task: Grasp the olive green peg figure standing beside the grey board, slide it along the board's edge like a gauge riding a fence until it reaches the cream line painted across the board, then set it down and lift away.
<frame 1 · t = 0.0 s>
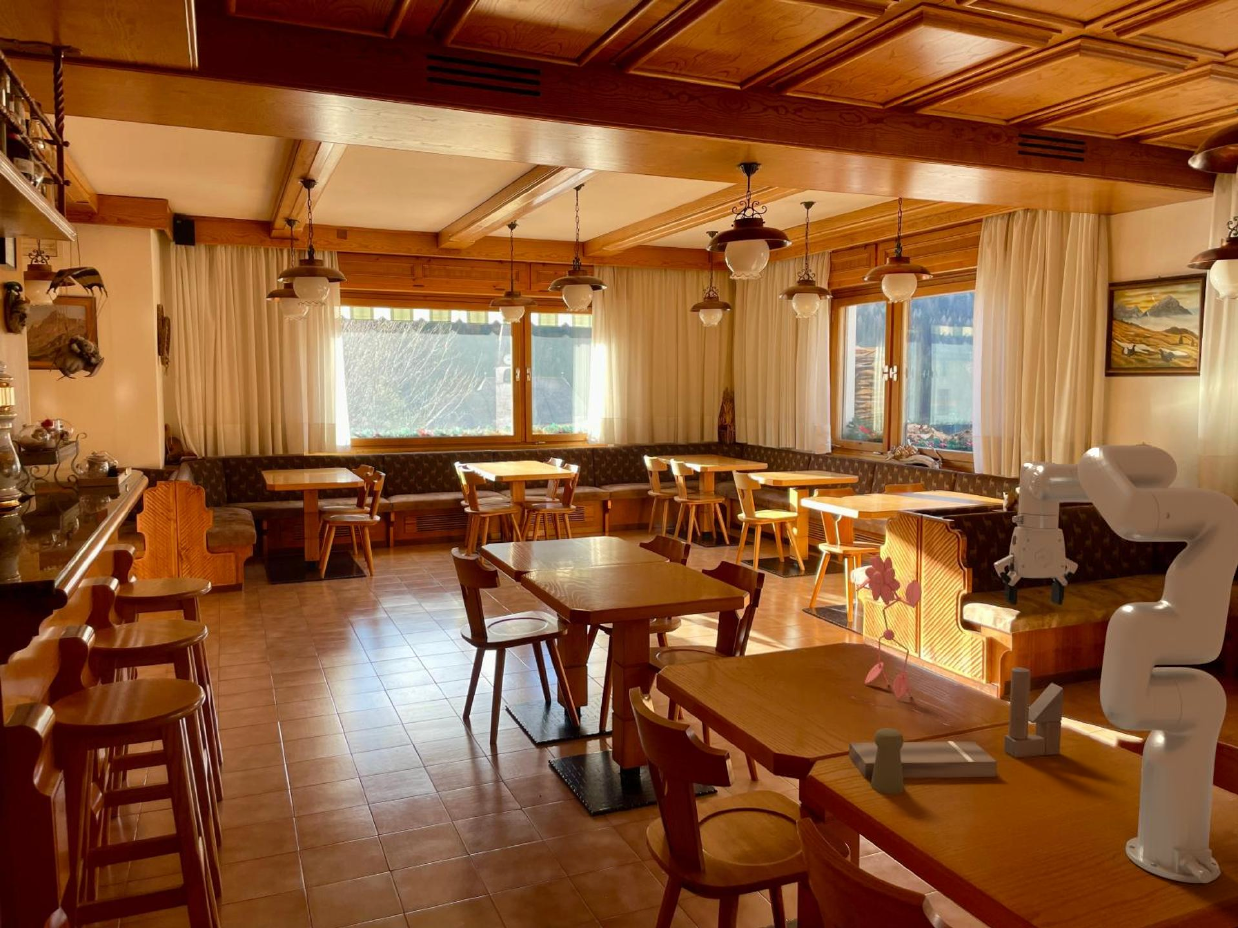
hand: (1034, 603, 183), 31 cm above the table, tool pointing down, fingers open, 9 cm apart
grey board: (920, 766, 176), on the table
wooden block: (1031, 753, 183), on the table
pink wire flower: (876, 693, 219), on the table
olive green peg figure: (887, 787, 167), on the table
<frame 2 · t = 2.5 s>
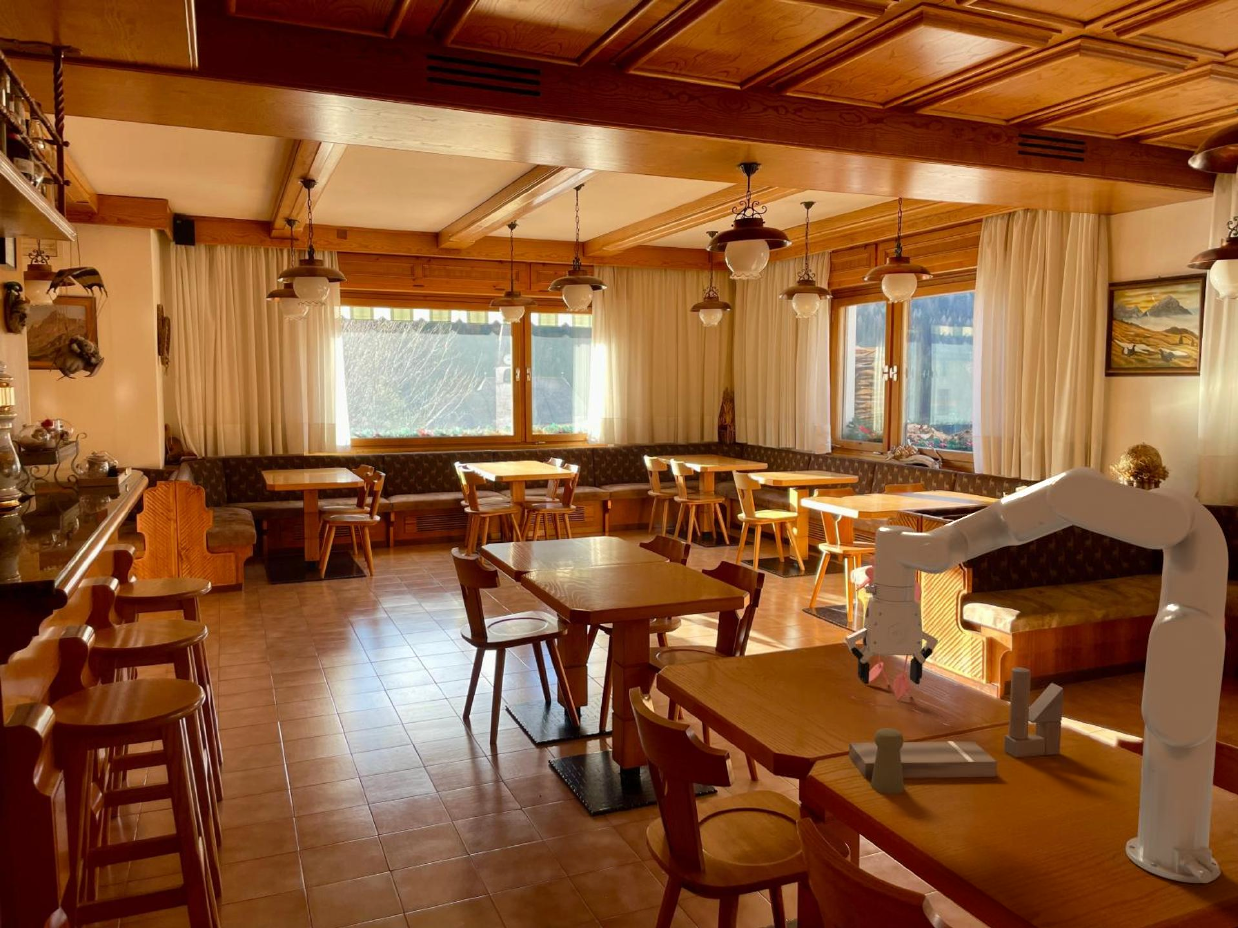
hand: (889, 681, 165), 20 cm above the table, tool pointing down, fingers open, 9 cm apart
nothing on the table moved.
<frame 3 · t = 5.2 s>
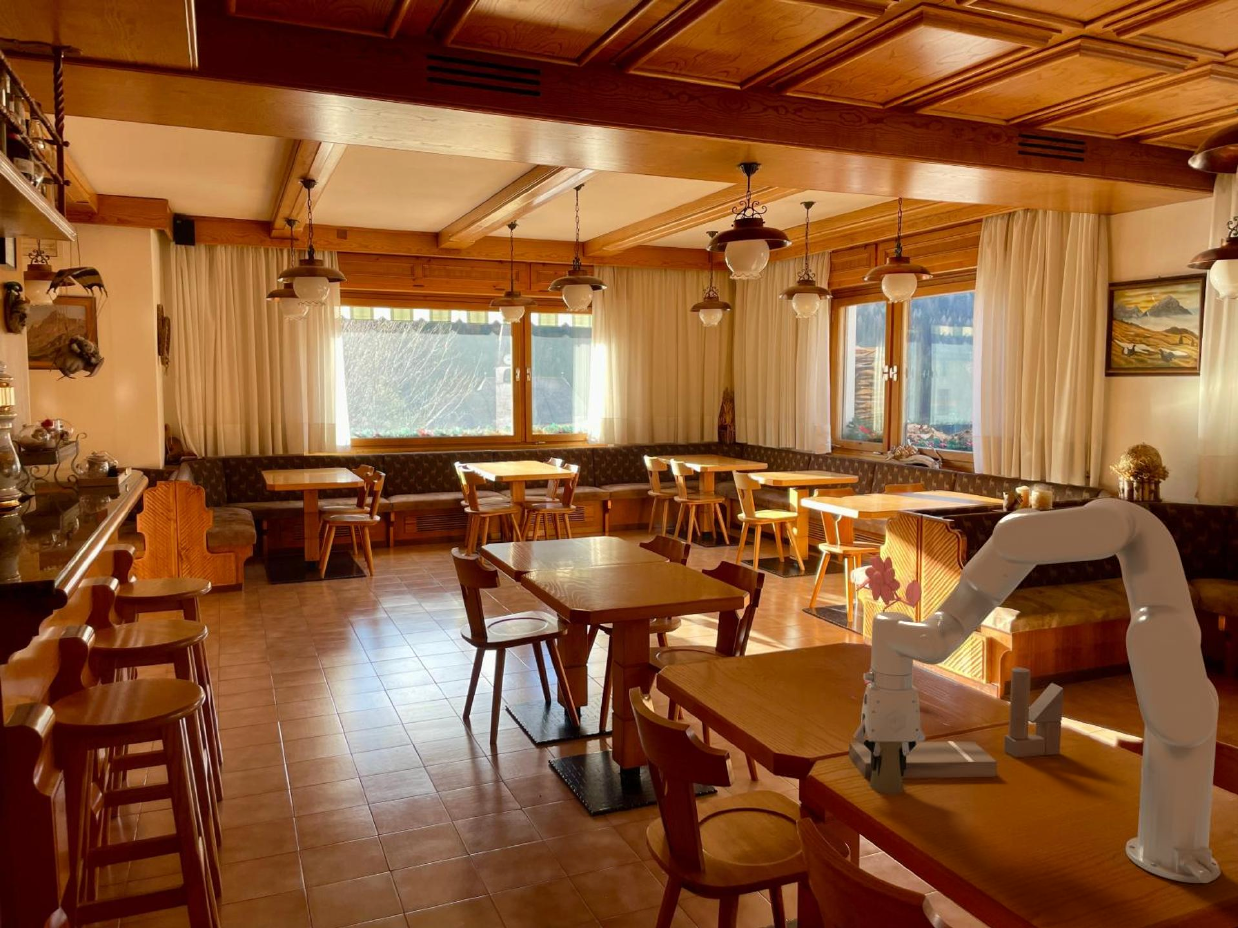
hand: (888, 772, 167), 3 cm above the table, tool pointing down, fingers closed on olive green peg figure, 3 cm apart
olive green peg figure: (886, 787, 167), on the table, touching gripper
everything else where it was.
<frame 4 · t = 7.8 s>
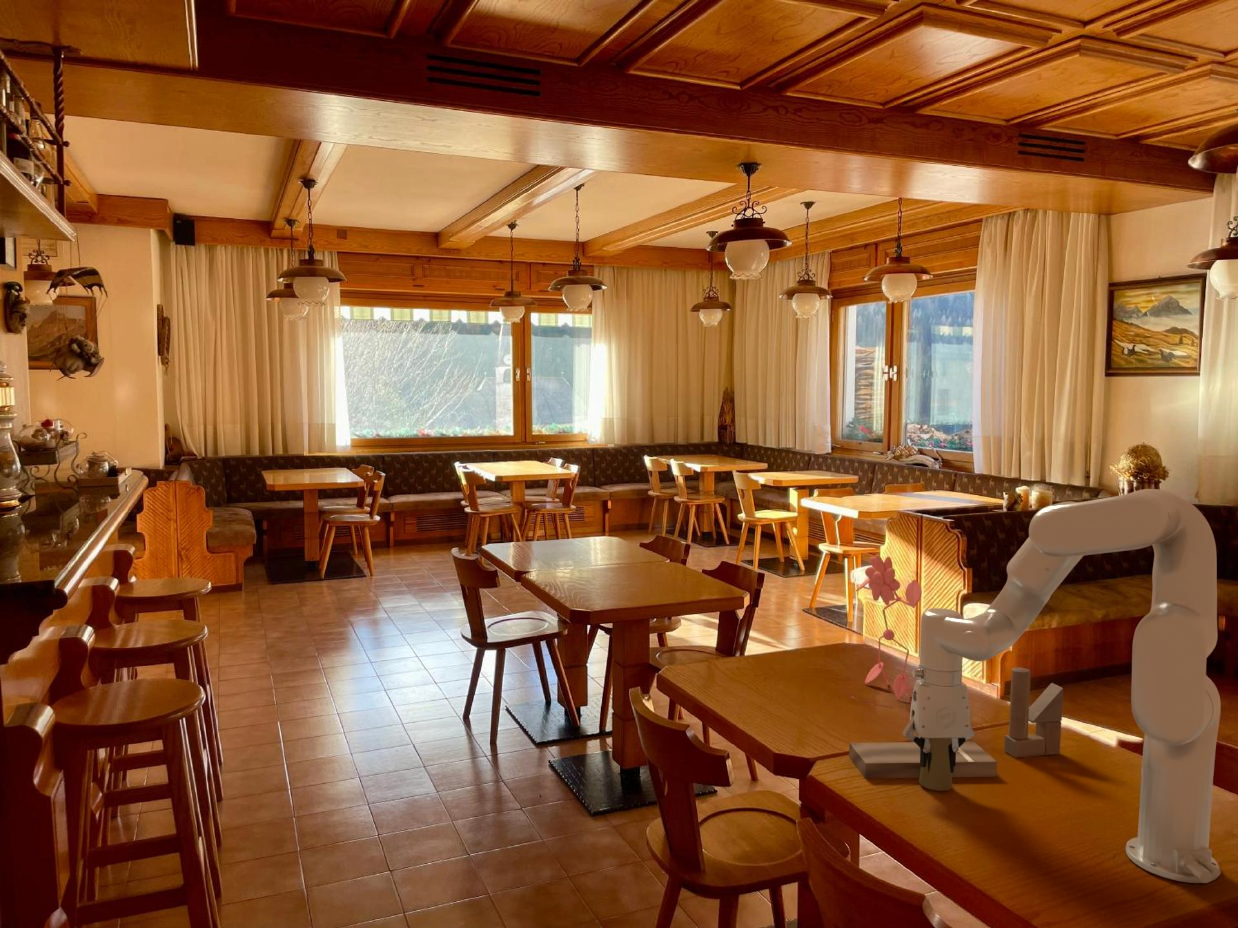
hand: (937, 769, 167), 3 cm above the table, tool pointing down, fingers closed on olive green peg figure, 3 cm apart
olive green peg figure: (935, 784, 167), on the table, touching gripper
everything else where it was.
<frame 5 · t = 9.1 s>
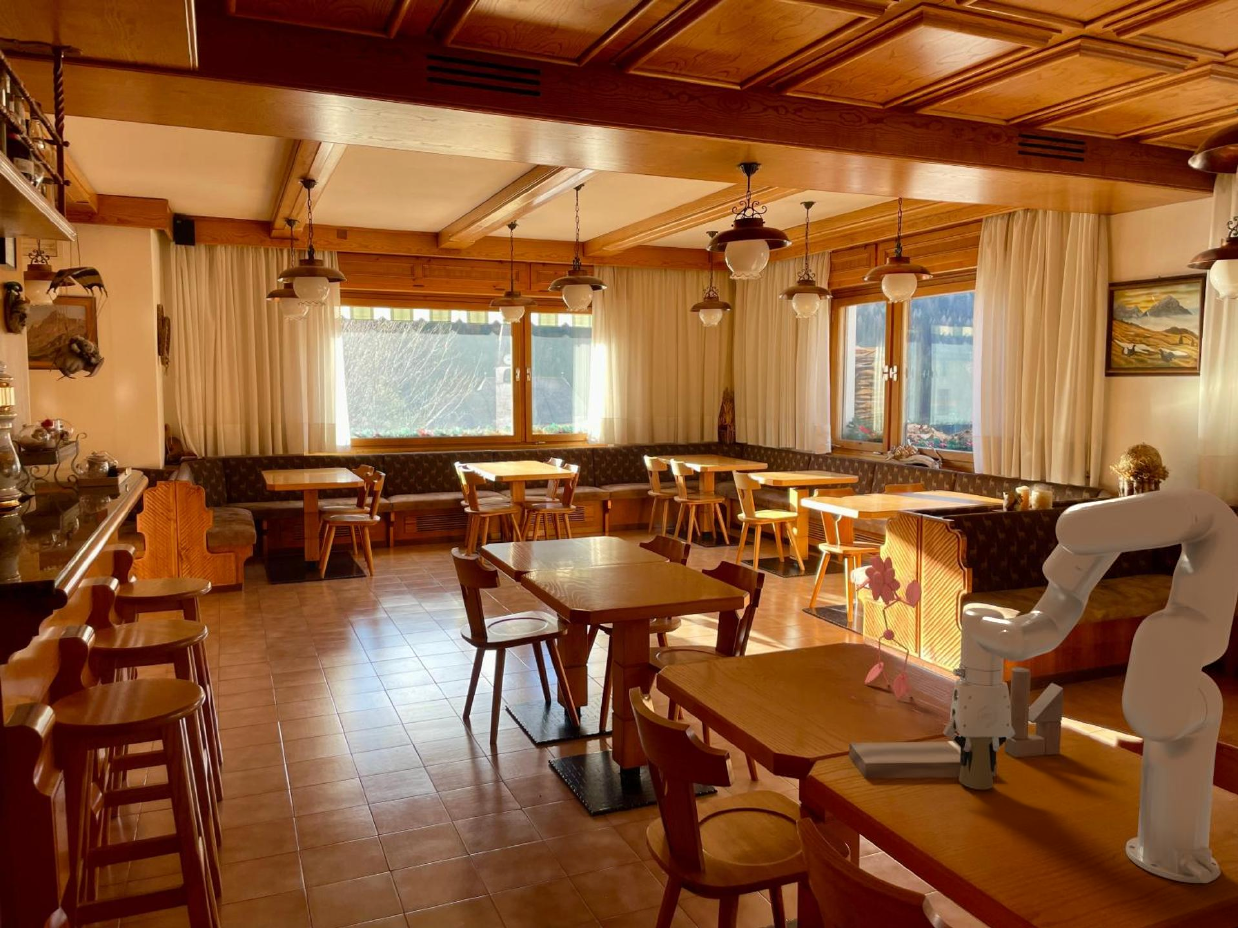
hand: (977, 768, 167), 4 cm above the table, tool pointing down, fingers closed on olive green peg figure, 3 cm apart
olive green peg figure: (975, 783, 167), point 1 cm above the table, touching gripper
everything else where it was.
when the fingers open (3 cm above the table, at t = 10.4 s): olive green peg figure stays where it is, on the table.
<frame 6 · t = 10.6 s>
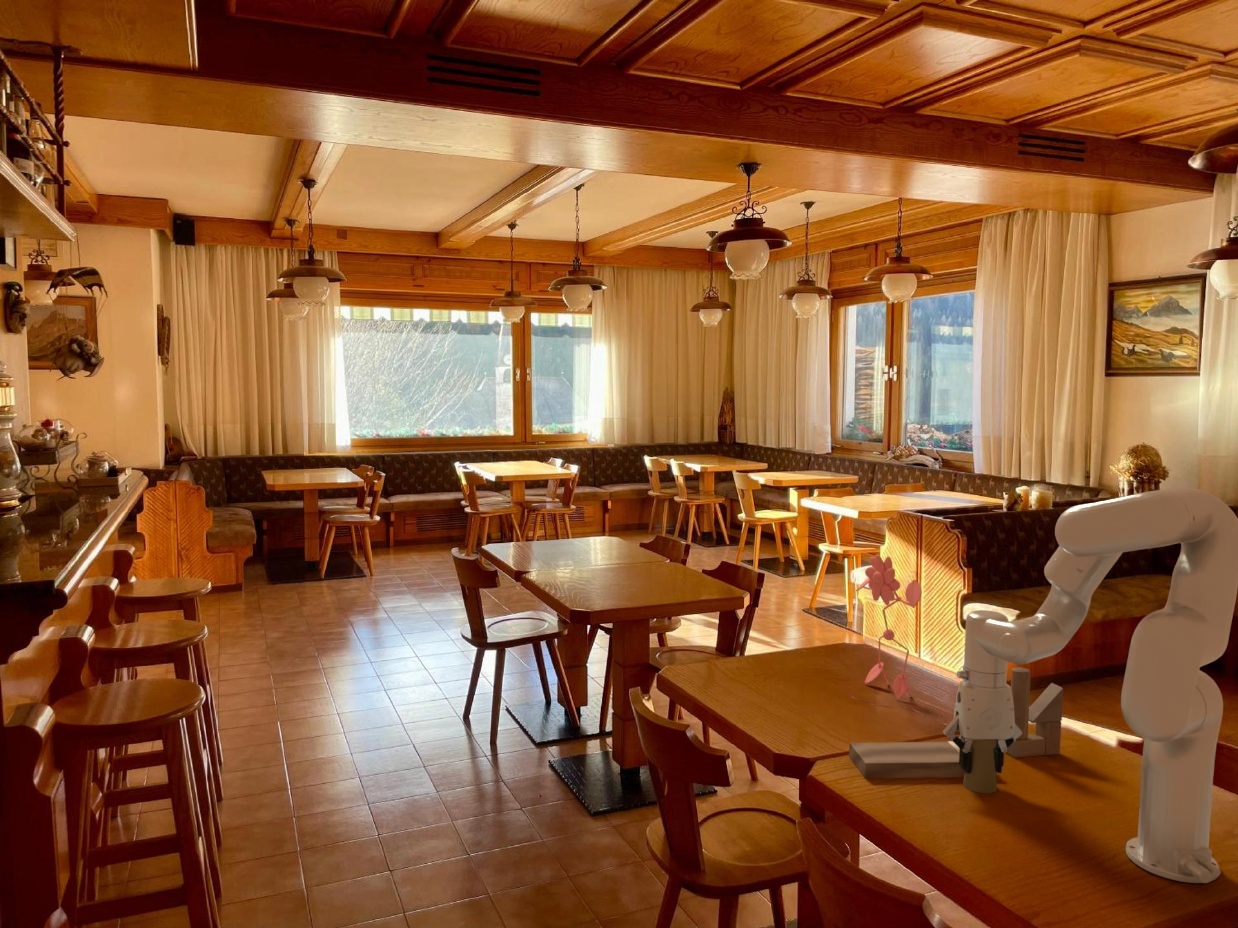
hand: (980, 769, 168), 3 cm above the table, tool pointing down, fingers open, 5 cm apart
olive green peg figure: (979, 787, 168), on the table
everything else where it was.
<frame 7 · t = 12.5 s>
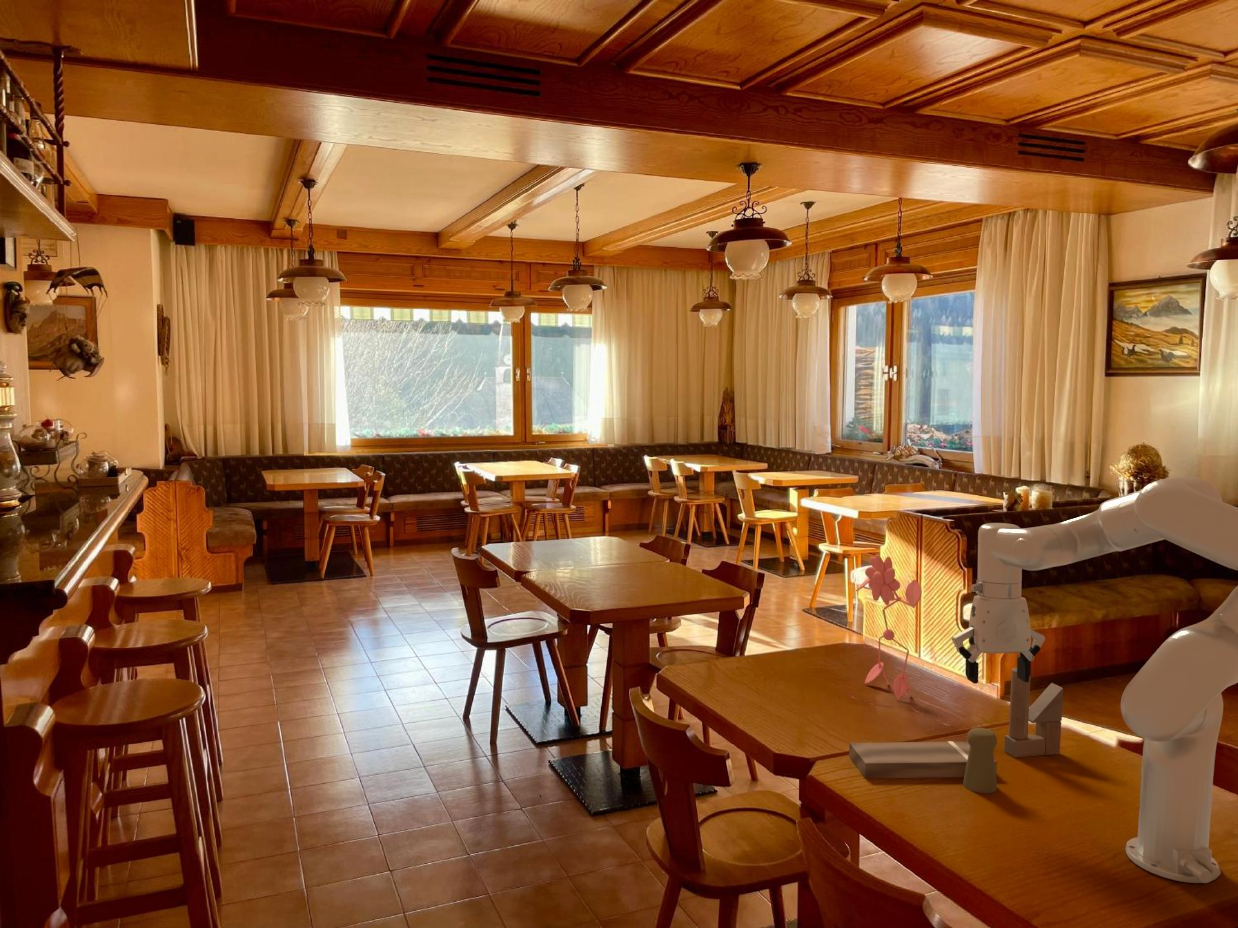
hand: (997, 680, 164), 21 cm above the table, tool pointing down, fingers open, 9 cm apart
nothing on the table moved.
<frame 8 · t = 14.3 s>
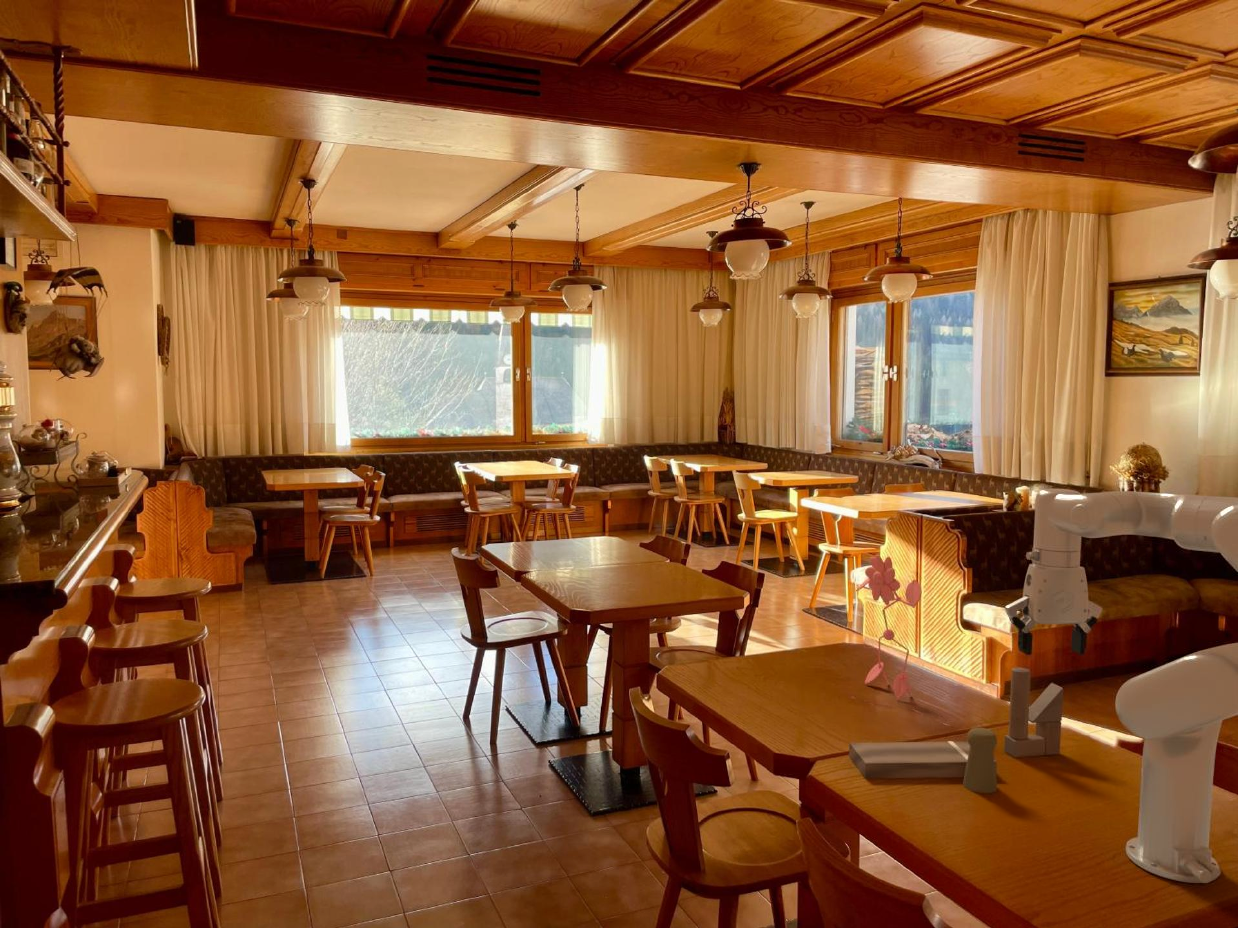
hand: (1051, 652, 158), 28 cm above the table, tool pointing down, fingers open, 9 cm apart
nothing on the table moved.
at the end: olive green peg figure 0.1 cm from the target spot, on the table; olive green peg figure tilted 0°; the gripper is holding nothing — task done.
